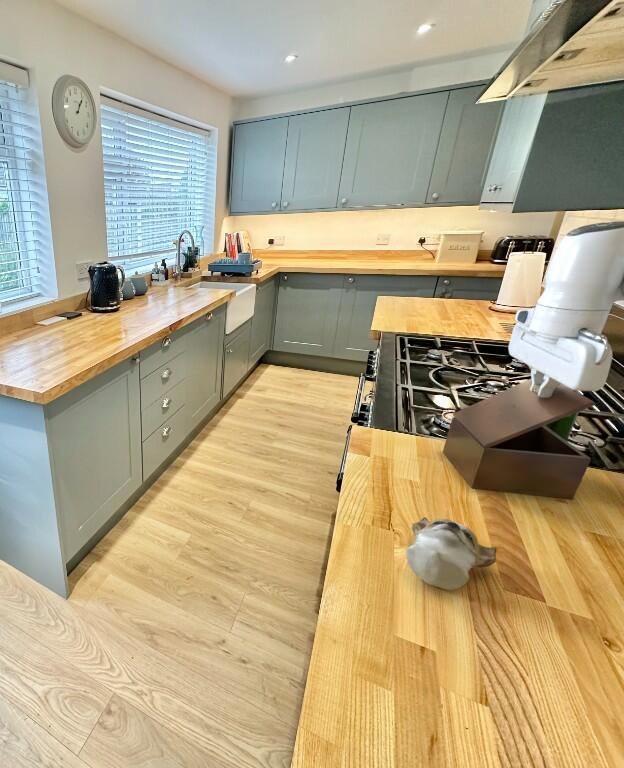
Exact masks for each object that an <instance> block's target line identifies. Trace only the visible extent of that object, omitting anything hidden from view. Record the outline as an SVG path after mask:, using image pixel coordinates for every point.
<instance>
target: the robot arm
mask: <svg viewBox="0 0 624 768" xmlns="http://www.w3.org/2000/svg"><path fill="white" fill-rule="evenodd" d="M619 301H624V221H622V220H621V221H619V220H617V221H609V222H598V223H591V224H587V225H582V226H578V227H577V228H573V229H571V230H570V231H568V232H567V233H566V234H565V235H564V236H563V238H562V239H561V241H560V242H559V244H558V245H557V248H556V249H555V251H554V254H553V256H552V258H551V261H550V263H549V266H548V269H547V272H546V274H545V277H544V289H543V292H542V294H541V295H540V296H539V298H538V299H537V301H536V304H535V307H531V308H523V309H518V310H517V311H516V313H515V317H514V320H515V321H516V323H515V324H514V326H513V329H512V331H511V336H510V339H509V343H508V347H507V348H508V354H509V356H511V357H512V358H514V359H516V360H518V361H520V362H522V363H523V364H525V365H527V366H529V367H531V370H530V377H531V378H530V379H532V385H531V388H530V391H532V392H533V393H535V394H537V395H538V396H540V397H544V398H549V397H551V396H552V393H553V391H554V389H555V388H557V387H558V386H559V385H560V384H563V385H565V386H566V387H568V388H570V389H572V390H574V391H577V392H578V391H581V392H597V391H599V390H601V389H603V388H604V386H605V384H606V382H607V379H608V376H609V372H610V369H611V365H612V361H613V350H612V346H611V344H610V343H609V341H608V337H607V335H604V334H602V332H603V330H604V328H605V325H606V322H607V320H608V318H609V315H610V312H611V311H612V310H611V309H612V308H613V305H614V304H615V303H616V302H619Z"/></svg>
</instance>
